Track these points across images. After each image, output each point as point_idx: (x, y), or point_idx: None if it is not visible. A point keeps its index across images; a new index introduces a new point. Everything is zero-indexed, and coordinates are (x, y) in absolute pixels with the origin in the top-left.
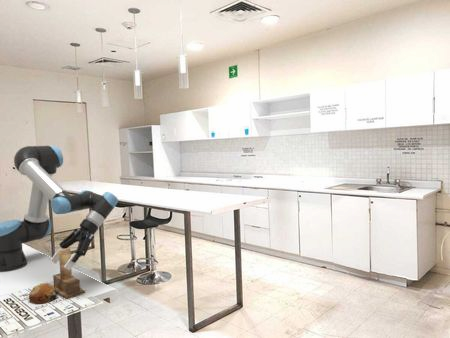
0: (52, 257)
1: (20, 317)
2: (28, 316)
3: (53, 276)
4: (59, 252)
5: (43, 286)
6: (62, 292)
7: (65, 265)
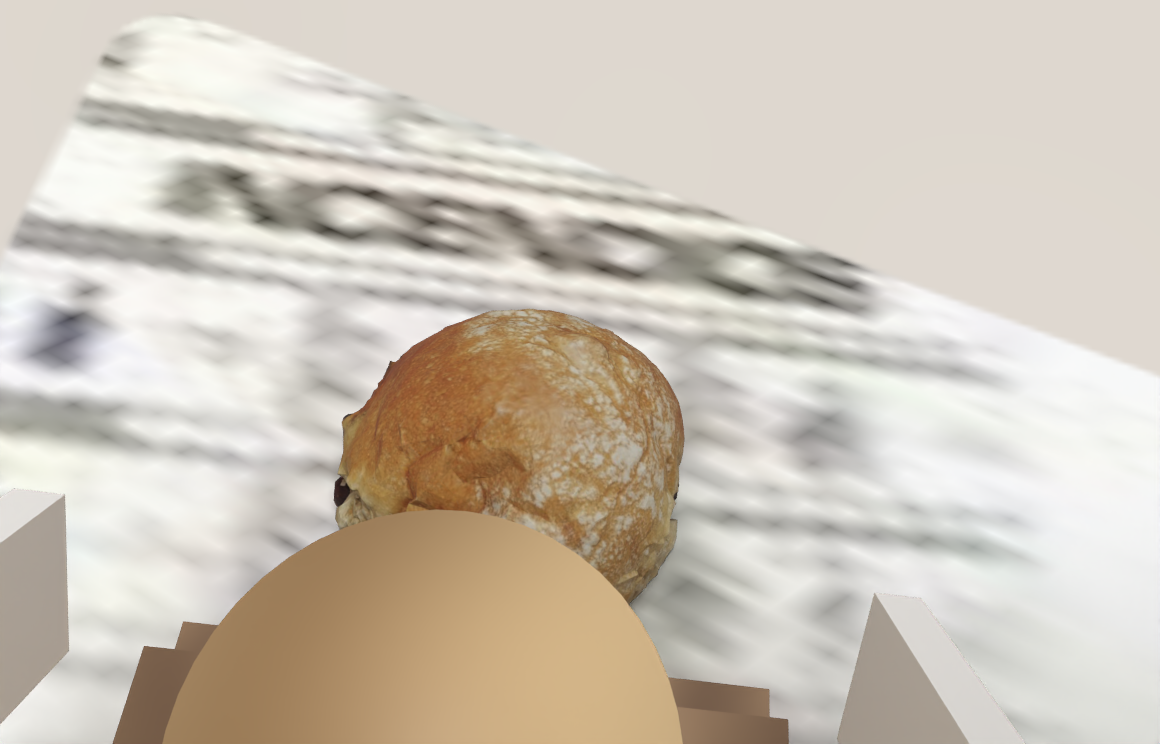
0: (944, 646)
1: (298, 163)
2: (241, 202)
3: (771, 721)
4: (462, 527)
5: (464, 390)
6: None
7: (2, 512)
